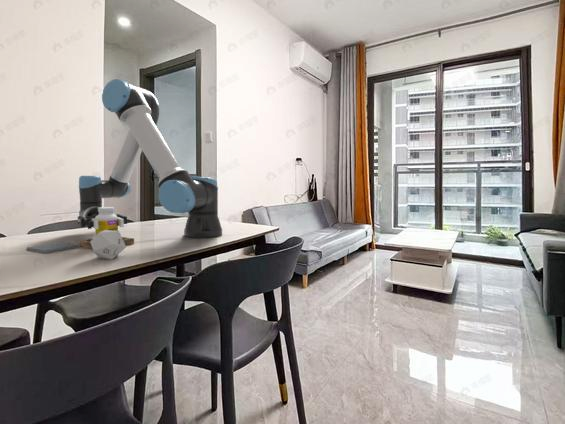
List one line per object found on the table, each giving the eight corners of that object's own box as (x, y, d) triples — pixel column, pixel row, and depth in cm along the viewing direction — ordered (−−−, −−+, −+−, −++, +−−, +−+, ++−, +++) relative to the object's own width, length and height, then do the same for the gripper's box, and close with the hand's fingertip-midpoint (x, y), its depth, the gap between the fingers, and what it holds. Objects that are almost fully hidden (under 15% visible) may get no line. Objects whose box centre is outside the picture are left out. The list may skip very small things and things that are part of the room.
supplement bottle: (108, 247, 101) (106, 208, 100) (91, 246, 102) (89, 208, 101) (123, 243, 108) (121, 206, 106) (106, 242, 109) (104, 206, 107)
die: (92, 265, 83) (115, 237, 83) (77, 246, 87) (99, 219, 87) (117, 268, 91) (137, 242, 91) (102, 251, 94) (122, 225, 94)
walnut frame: (134, 243, 108) (133, 238, 108) (103, 250, 97) (102, 244, 97) (111, 240, 112) (111, 235, 112) (79, 246, 102) (79, 240, 102)
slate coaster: (79, 247, 102) (79, 244, 102) (45, 253, 93) (45, 250, 93) (60, 244, 106) (60, 241, 106) (26, 249, 97) (26, 247, 97)
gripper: (124, 224, 124) (142, 232, 107) (65, 229, 112) (74, 239, 94) (124, 206, 124) (141, 210, 106) (64, 208, 111) (73, 214, 94)
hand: (109, 224), depth 100 cm, fingers closed on supplement bottle, 7 cm apart
